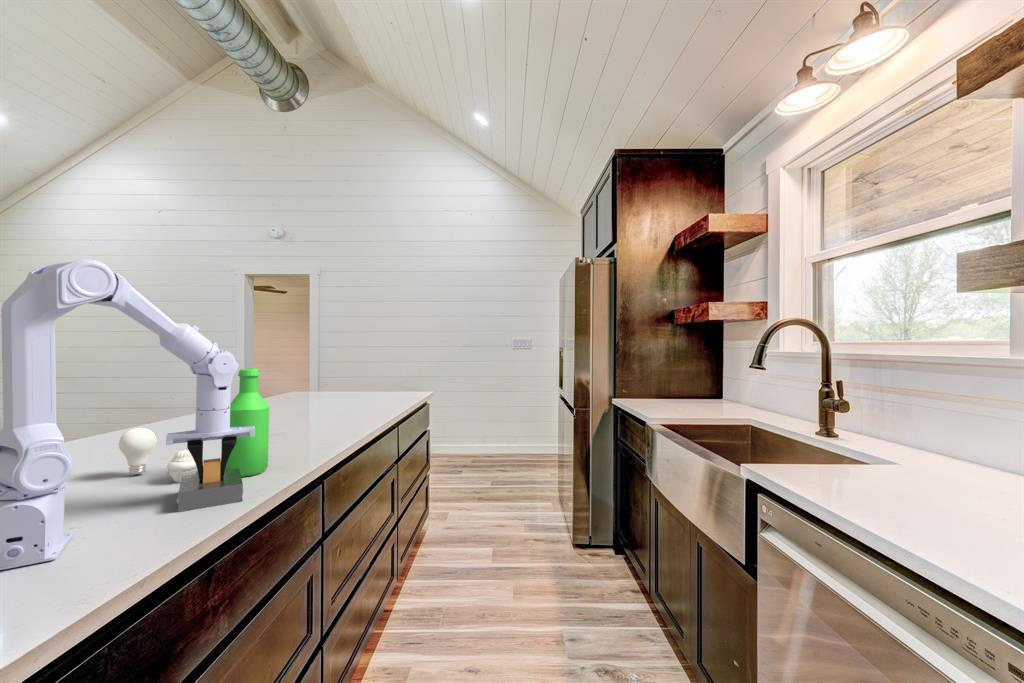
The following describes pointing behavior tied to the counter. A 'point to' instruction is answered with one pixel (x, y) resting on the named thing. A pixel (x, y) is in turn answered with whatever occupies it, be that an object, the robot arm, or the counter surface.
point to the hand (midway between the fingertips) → (211, 475)
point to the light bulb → (137, 448)
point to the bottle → (246, 413)
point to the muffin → (182, 465)
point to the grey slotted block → (209, 491)
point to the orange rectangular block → (211, 470)
